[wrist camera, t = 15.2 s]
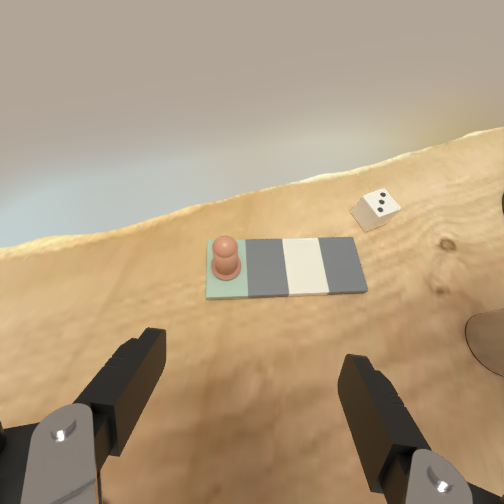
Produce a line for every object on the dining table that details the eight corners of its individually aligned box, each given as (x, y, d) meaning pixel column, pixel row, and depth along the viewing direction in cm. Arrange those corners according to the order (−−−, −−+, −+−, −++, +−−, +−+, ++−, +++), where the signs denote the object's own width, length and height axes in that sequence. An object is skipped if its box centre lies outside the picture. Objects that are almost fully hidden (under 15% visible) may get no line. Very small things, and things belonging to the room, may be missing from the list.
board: (349, 241, 44) (352, 237, 42) (363, 293, 39) (368, 290, 38) (208, 244, 42) (207, 240, 40) (207, 300, 37) (206, 297, 36)
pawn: (240, 253, 40) (242, 226, 32) (241, 280, 38) (243, 258, 30) (212, 253, 39) (206, 226, 32) (211, 281, 37) (205, 258, 29)
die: (370, 204, 48) (384, 187, 43) (385, 224, 46) (401, 208, 41) (350, 212, 47) (362, 195, 42) (364, 232, 45) (379, 216, 40)
